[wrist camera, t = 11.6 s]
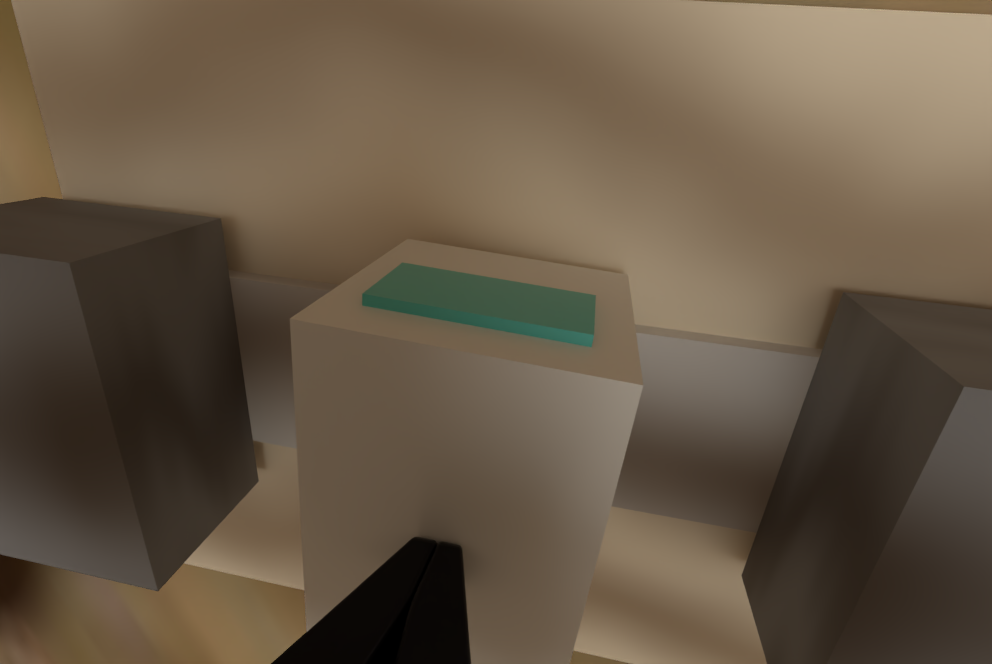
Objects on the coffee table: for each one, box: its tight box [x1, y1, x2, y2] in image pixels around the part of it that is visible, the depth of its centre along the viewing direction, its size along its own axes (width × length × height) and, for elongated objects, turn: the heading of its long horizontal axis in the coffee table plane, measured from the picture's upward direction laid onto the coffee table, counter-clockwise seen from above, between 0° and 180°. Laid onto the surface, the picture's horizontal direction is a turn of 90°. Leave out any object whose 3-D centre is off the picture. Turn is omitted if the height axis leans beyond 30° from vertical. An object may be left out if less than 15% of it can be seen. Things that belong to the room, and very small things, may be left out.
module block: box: [290, 239, 643, 664], centre depth 11 cm, size 8×5×5 cm, turn 173°
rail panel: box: [0, 0, 992, 664], centre depth 12 cm, size 18×24×6 cm
